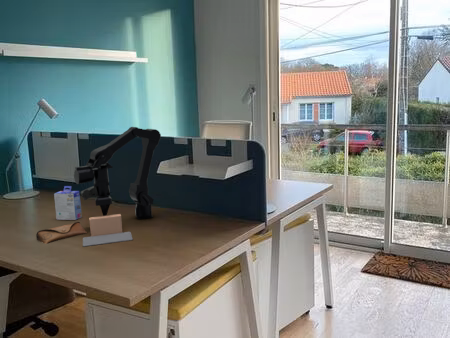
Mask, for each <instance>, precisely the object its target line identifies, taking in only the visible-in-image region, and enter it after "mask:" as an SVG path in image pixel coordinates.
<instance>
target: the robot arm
mask: <svg viewBox="0 0 450 338" xmlns="http://www.w3.org/2000/svg"><path fill="white" fill-rule="evenodd" d="M161 136H162V135H161V133H160V131H159V130H158V129H154V128H146V129H145V128H139V127H137V126H130V127H129V128H128V129H127V130H126V131H124V132H123V133H121V134H120V135H119V136H117V137H115V139H113V140H112V141H110V142H109V143H107V144H105V145H102V146H99V147H98V148H94V149H92V151H91V152H90V155H89V159H88V161H87V162H86V164H85V165H84V166H83V165H82V166H75V167H74V168H75V169H74V172H73V178H74V182H75V183H76V185H79V184H87V183H91V182H93V186H90V187H88V188H85V189H84V190H81V191H80V195H81V197H82V198H83V199H82V200H84V201H87V200H88V199H90V198H92V197H95V206H99V207H100V210H101V213H102V216H107V215H108V212H109V210H110V206H111V205H112V204H113V201H112V197H111V191H110V190H111V189H110V179H109V170H108V169H112V168H113V166H112V165H111V164H110V163H109V161H110V160H111V159H112V158H113V155H115V153H117V151H118V150H120V149H121V148H123V147H124V146H126V145H127V144H128V143H130V142H131V141H132V140H134V139H135V138H141V144H142V152H141V157H140V161H139V165H138V166H139V167H138V171H137V174H136V179H135V181H134V182H133V183H132V182H130V183H129V184H130V185H129V189H128V193H129V197H130V198H131V200H132V201H133V202H134V203H135V206H134V211H135V217H136V218H137V219H138V220H143V219H150V218H153V217H154V215H153V214H152V213H153V212H152V205H153V204H154V198H153V197H151V196H150V194H149V185H148V179H149V175H150V169H151V165H152V161H153V156H154V152H155V149H156V148H157V147H158V145H159V143H160V140H161Z"/></svg>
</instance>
